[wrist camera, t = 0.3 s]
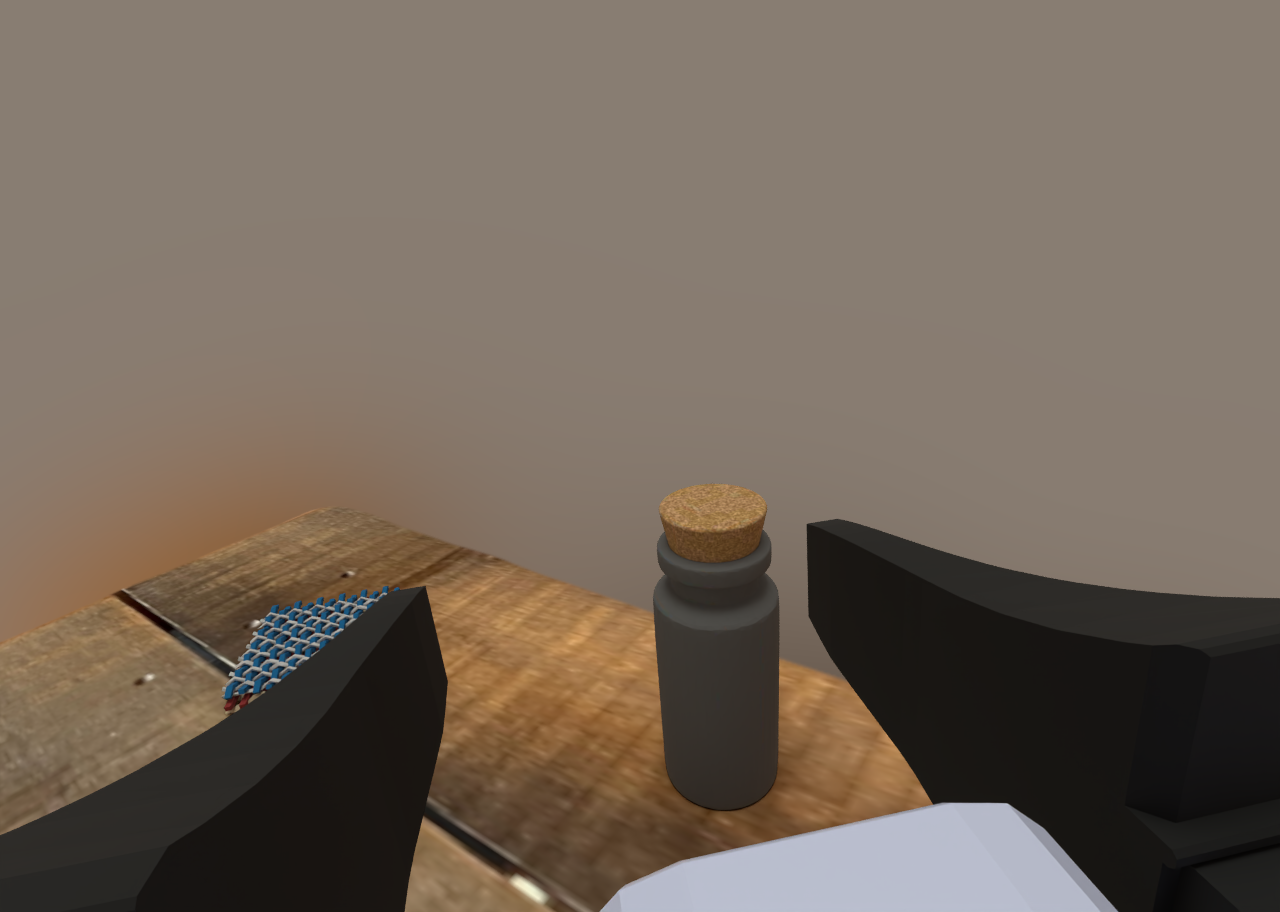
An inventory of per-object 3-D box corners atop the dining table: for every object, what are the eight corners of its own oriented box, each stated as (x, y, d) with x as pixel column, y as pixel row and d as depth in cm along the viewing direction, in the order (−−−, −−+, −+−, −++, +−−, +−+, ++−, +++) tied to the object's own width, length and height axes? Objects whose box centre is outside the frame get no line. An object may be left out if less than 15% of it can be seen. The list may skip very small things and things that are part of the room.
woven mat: (217, 727, 39) (207, 701, 38) (271, 627, 49) (264, 604, 48) (394, 692, 41) (387, 666, 40) (412, 602, 51) (407, 580, 50)
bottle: (799, 792, 31) (805, 520, 26) (686, 826, 30) (668, 547, 24) (749, 710, 36) (746, 469, 31) (651, 736, 35) (631, 490, 30)
